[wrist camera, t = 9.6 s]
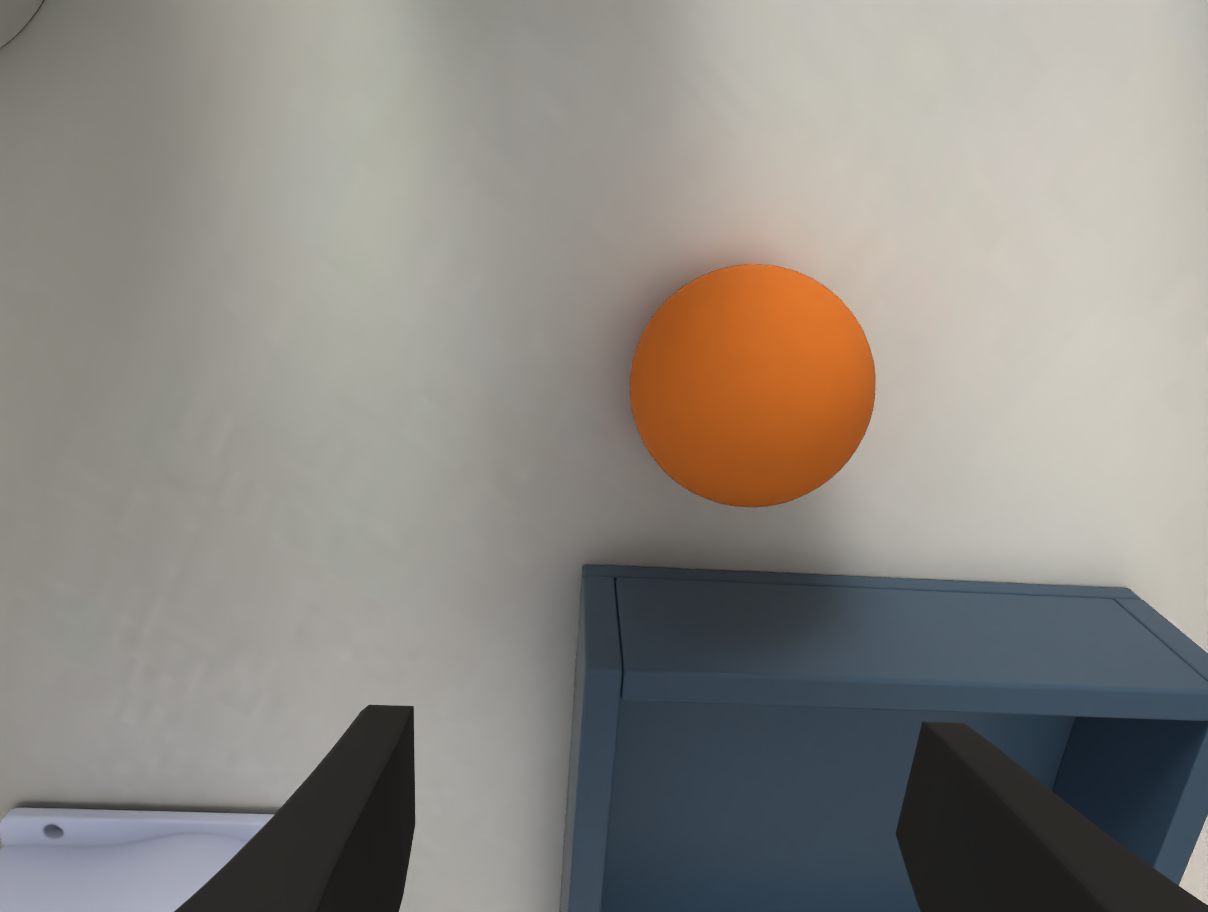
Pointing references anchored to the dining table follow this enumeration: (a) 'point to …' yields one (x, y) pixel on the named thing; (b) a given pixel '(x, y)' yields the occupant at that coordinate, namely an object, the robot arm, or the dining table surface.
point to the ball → (752, 385)
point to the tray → (853, 728)
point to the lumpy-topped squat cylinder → (15, 17)
